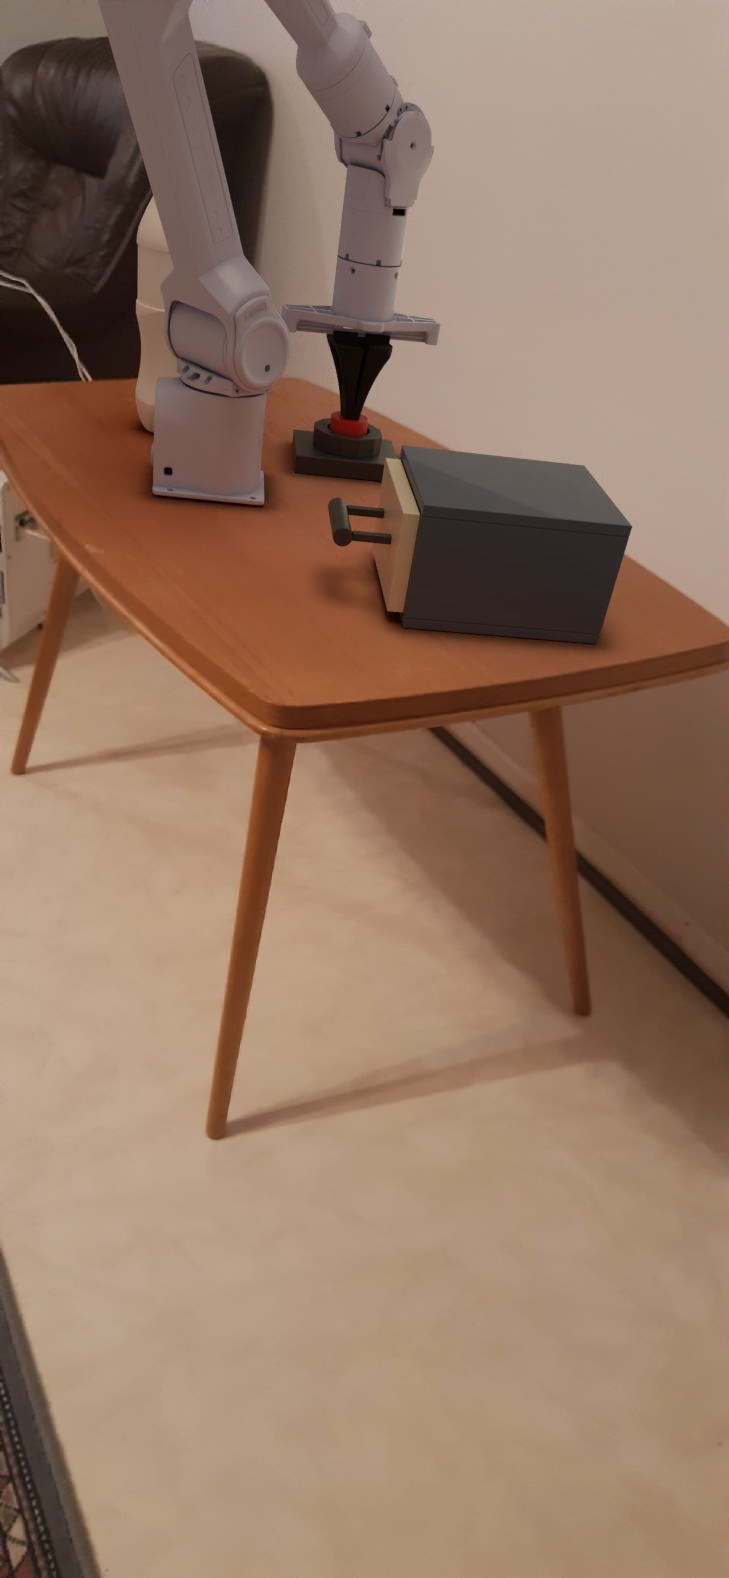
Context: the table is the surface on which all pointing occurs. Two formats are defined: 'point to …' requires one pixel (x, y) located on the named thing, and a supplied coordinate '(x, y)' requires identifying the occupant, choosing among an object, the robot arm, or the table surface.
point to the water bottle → (152, 313)
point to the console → (341, 452)
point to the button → (348, 425)
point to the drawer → (385, 531)
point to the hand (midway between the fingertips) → (349, 417)
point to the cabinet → (511, 546)
